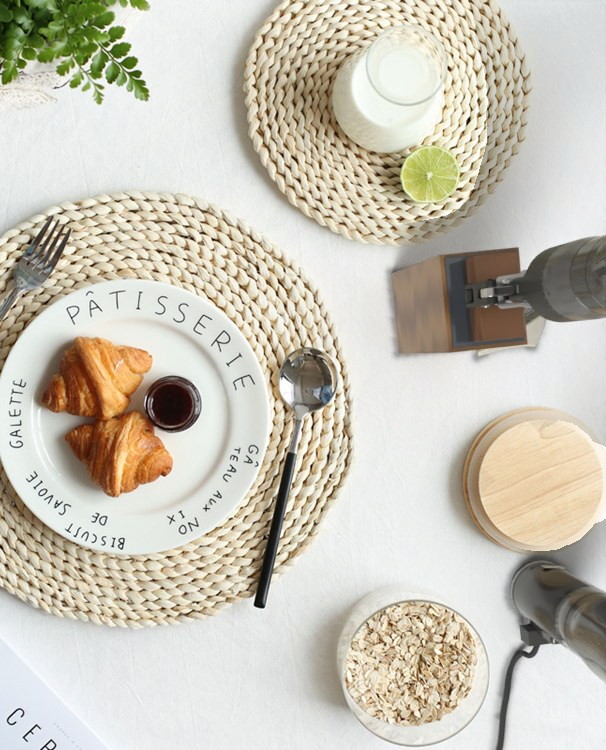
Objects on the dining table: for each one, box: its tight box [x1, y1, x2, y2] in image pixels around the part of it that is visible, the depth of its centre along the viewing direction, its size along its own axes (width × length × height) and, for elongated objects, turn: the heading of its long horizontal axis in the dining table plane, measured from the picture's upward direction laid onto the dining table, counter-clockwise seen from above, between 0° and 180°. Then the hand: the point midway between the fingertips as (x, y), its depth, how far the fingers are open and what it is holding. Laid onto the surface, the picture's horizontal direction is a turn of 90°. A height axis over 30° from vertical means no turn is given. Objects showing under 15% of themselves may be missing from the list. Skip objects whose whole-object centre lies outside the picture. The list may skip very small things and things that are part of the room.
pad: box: [444, 251, 525, 348], centre depth 101 cm, size 11×9×1 cm
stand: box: [390, 246, 528, 355], centre depth 112 cm, size 12×10×22 cm
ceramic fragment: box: [475, 309, 547, 357], centre depth 122 cm, size 14×5×4 cm, turn 120°
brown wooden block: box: [462, 252, 524, 342], centre depth 98 cm, size 10×5×4 cm, turn 6°
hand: (510, 293), depth 93 cm, fingers open, 8 cm apart
